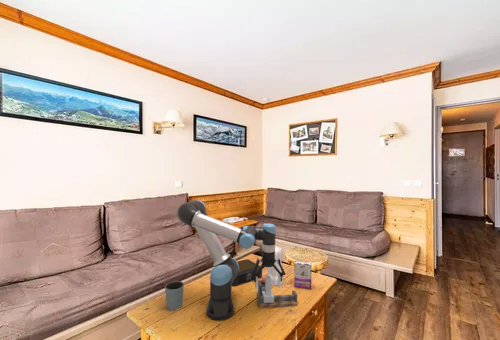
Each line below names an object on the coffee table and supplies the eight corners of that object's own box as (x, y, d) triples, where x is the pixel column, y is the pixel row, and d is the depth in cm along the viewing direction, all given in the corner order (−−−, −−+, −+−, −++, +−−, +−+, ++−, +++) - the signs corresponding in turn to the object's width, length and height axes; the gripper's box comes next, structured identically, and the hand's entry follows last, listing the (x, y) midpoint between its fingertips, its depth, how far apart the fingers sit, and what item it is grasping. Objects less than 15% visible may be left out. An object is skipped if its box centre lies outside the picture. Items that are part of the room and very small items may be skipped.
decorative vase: (282, 286, 156) (283, 249, 156) (266, 285, 158) (267, 248, 158) (283, 279, 166) (283, 244, 166) (268, 277, 168) (269, 243, 168)
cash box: (234, 287, 154) (234, 276, 154) (219, 275, 171) (219, 265, 171) (263, 278, 168) (263, 267, 168) (247, 268, 185) (247, 258, 185)
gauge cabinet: (259, 298, 141) (259, 285, 141) (257, 293, 147) (257, 280, 147) (270, 297, 142) (270, 284, 142) (268, 292, 148) (268, 280, 148)
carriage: (263, 303, 132) (264, 279, 132) (261, 297, 138) (262, 274, 138) (274, 302, 133) (274, 278, 133) (271, 297, 139) (272, 274, 139)
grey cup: (187, 304, 134) (187, 283, 134) (173, 313, 125) (173, 291, 125) (175, 299, 139) (175, 279, 139) (160, 307, 130) (161, 286, 130)
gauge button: (262, 283, 143) (262, 278, 143) (261, 281, 146) (261, 275, 146) (267, 283, 143) (267, 278, 143) (266, 281, 147) (266, 275, 146)
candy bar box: (311, 286, 157) (311, 261, 157) (311, 289, 153) (311, 264, 153) (294, 283, 160) (294, 260, 160) (293, 287, 155) (294, 262, 155)
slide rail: (258, 308, 131) (259, 298, 131) (256, 300, 139) (256, 291, 139) (298, 305, 134) (298, 296, 134) (293, 298, 142) (293, 289, 142)
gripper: (248, 253, 130) (247, 291, 131) (291, 252, 134) (290, 289, 134) (246, 249, 138) (245, 284, 138) (287, 248, 141) (286, 283, 141)
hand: (267, 287), depth 136 cm, fingers open, 13 cm apart
